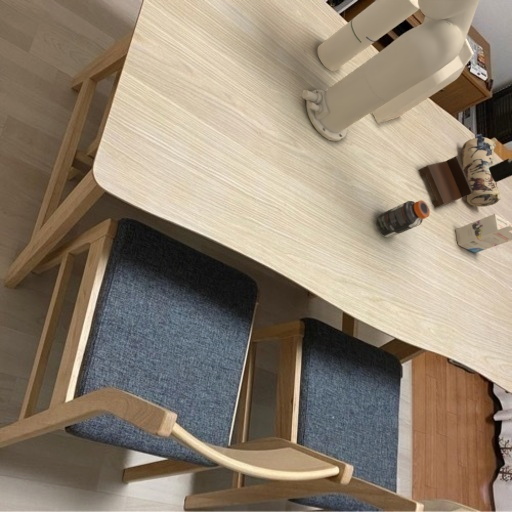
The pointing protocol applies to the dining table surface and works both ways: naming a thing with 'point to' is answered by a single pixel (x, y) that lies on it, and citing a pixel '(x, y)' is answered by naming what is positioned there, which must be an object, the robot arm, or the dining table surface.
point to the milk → (424, 87)
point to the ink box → (484, 233)
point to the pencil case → (480, 170)
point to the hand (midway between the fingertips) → (501, 171)
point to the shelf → (447, 181)
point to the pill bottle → (402, 218)
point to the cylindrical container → (364, 31)
